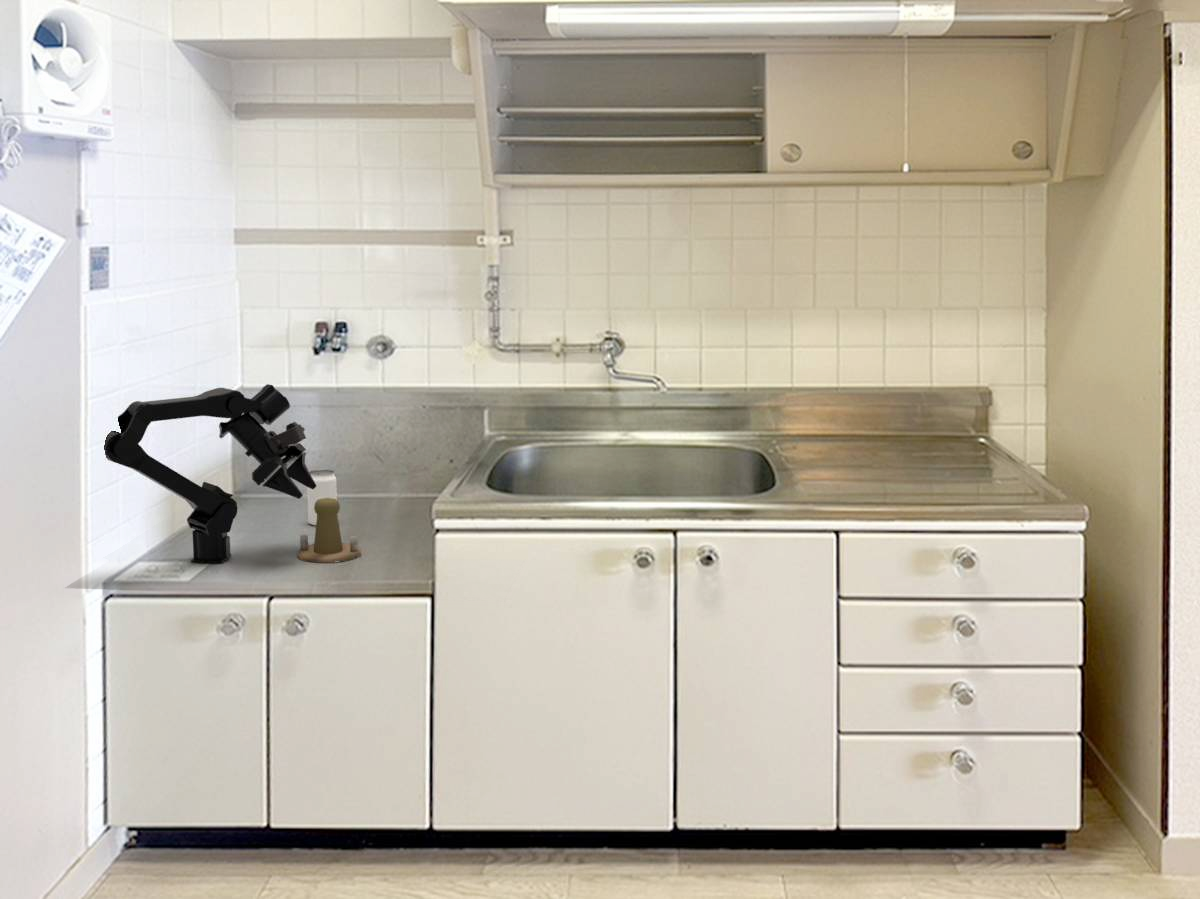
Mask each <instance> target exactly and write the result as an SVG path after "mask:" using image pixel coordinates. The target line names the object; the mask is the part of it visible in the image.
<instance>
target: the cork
mask: <svg viewBox="0 0 1200 899" xmlns="http://www.w3.org/2000/svg"><path fill="white" fill-rule="evenodd" d="M340 506H341V505H340V502H339V500H338V499H337V500H336V499H333V498H322V499H319V500H317V501H316V503H315V505H314V510H315V512H316V514H317V523H316V526H315V531H314V532H315V533H314V543H313V544H314V552H315V553H319V554H334V553H339V552H341V551H343V547H342V543H343V541H342V536H341V529H340V524H339V518H338V517H339V516H338V513H339V512H340V510H341V507H340Z"/></svg>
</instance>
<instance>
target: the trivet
mask: <svg viewBox="0 0 1200 899" xmlns="http://www.w3.org/2000/svg"><path fill="white" fill-rule="evenodd" d="M299 545H300V546H299V547H300V548H299V549H298V550H297V554H296V555H297V559H299V558H300V560H301V559H302V560H301V561H303V560H305V561H304V562H307V561H311V562H310V563H314V562H335V561H343V562H345V561H344V560H349V559H352V560H354V559H353V558H355V559H357V558H359V557H360V556H361V554H362V549H361V547H360V546H359V538H358V536H357V535H353V536H350V537H349V543H348V542H347V543H346V542H342V547H343V551H341V552H339V553H334V554H319V553H315V552H314V543H313V544H309V535H308V534H300V535H299ZM359 555H360V556H359ZM358 556H359V557H358ZM356 557H357V558H356ZM349 561H350V560H349ZM335 563H336V562H335Z"/></svg>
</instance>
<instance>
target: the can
mask: <svg viewBox="0 0 1200 899" xmlns="http://www.w3.org/2000/svg"><path fill="white" fill-rule="evenodd" d="M334 472H335V471H334V470H332V469H314V470H310V471H309V473H310V475H311V476H312V478H313V480H314V482H315V484H316V487H315V488H314V489H311V488H309V487H307V486H306V487H307V489H306V490H307V513H308V514H307V518H308V524H309V525H310V524H311V525H310V526H312V525H314V526H313V527H316V523H317V514H316V512H315V510H314V505H315V503H316V501H317V500H319V499H322V498H333V499H336V500H338V499H337V497H338V495H337V492H338V490H337V478H336V475H335V474H334Z"/></svg>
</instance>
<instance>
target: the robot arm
mask: <svg viewBox="0 0 1200 899" xmlns="http://www.w3.org/2000/svg"><path fill="white" fill-rule="evenodd" d="M290 408H291V404H290V402H289V399H287V397H286V396H284V395H283V394H282V393H281V391H279V390H277V389H276V388H275V386H274V385H273V384H268V383H267V384H265V385H264V386H263V387H262V389H261V390H259V392H257V393H256V394H255V395H254V396H252V398H248V397H245V395H244V394H243V393H242V392H241V391H239V390H234V389H231V388H226V387H216V388H213V389H210V390H207V391H204V392H202V393H200V394H197V395H194V396H188V397H187V396H186V397H185V396H184V397H176V398H168V399H158V400H157V399H156V400H148V401H140V400H137V401H133V402H132V403H130V404H129V405H128V406H127V408H126V409H125V410H124V411H123V412H122V413H121V414H119V415H118V416H117V417H118V422H119V426H120V429H121V433H119V432H116V431H111V432H110V433H109V434H108V435H107V437H106V440H105V445H104V450H105V455H106V458H107V459H108V460H107V461H110V462H112V463H114V464H117V463H118V465H121V466H124V467H127V468H129V469H132V470H133V471H136V472H137V473H139V474H140V475H142V476H143V477H146V478H147V479H149V480H151V481H152V482H153V483H155V484H158V485H159V486H160V487H162V488H164V489H166V490H168V491H169V492H171V493H173V494H175V495H176V496H178V497H179V498H182V499H183V500H184V501H186V502H187V503H188V505H189V506H190V507H191V508H192V509H193V511H192V512H191V513H190V514H189V516H188V517H187V519H186V522H187V524H188V527H189V529H193V531H192V533H191V534H192V550H193V551H192V554H193V556H192V558H191V559H190V563H201V564H202V563H203V564H206V563H207V564H222V563H223V562H225V561H226V560H227V559H229V558H230V557H231V556H232V553H231V537H230V536H229V535H228V533H230V532H231V530H232V526H233V523H234V522H233V521H234V520H235V518H236V517H237V514H238V503H237V501H236V500H235V499H234V498H232V497H233V496H234V494H232V493H229V492H226V491H224V490H223V489H222V488H221V487H219V485H215V484H212V483H210V482H206V481H203V482H202V485H201V486H200V485H199V484H197V483H196V482H194V481H192V480H190V479H189V478H187V477H185V476H184V475H183V474H180V473H179V472H177V471H175V470H174V469H172V468H170V467H169V466H167V465H166V464H164V463H162V462H160V461H159V460H157V459H156V458H153V457H152V456H151V455H149V454H148V453H147V452H146V451H145V450H144V449H143V447H142V446H141V445H140V442H141V441H142V440H143V437H144V436H145V434H146V431H147V429H148V427H149V425H150V424H151V423H152V422H161V421H169V420H178V419H185V418H186V419H187V418H193V417H213V418H219V419H229V420H228V421H225V422H223V421H221V422H219V425H218V428H219V436H218V437H219V438H220V439H223V438H224V437H225V436H226V435H228V434H230V435H231V436H232V437H233V439H235V440H236V441H237V442H238V443H239V444H240V445H241V446H242V447H243V448H244V449H245V450H246V452H244V454H245V455H246V456H247V457H251V456H252V457H253V458H254V460H256V461H257V462H258V463H259V465H258V466H257V467H256V468H255V469H254V470H253V471H252V472H251V478H252V479H251V480H253V481H254V483H255V484H256V485H257V486H258V487H259V486H261V485H262V486H263V488H269V489H272V490H275V491H278V492H280V493H283V494H286V495H288V496H291V497H293V498H295V499H296V498H297V499H301V498H302V497H303V492H302V491H301V490H300V489H299V488H298V486H297V484H296V483H294V481H296V482H298V483H299V484H301V485H304V487H309V488H311V489H314V488H315V487H316V484H315V482H314V480H313V478H312V476H311V475H310V473H309V472H310V471H309V469H308V468H307V465H306V463H305V462H306V455H307V453H306V450H307V449H306V447H305V446H303V445H302V444H301V443H300V442H302V441H303V440H305V439H307V436H306V435H305V433H304V432H305V427H304V426H302V424H298V423H297V421H293V422H291V423H289V424H287V425H286V426H285V430H284V431H282V432H280V433H278V434H277V433H276V432H275V431H274V430H270V431H268V430H267V429H266V428H265V427H264V426H263V425H264V424H265V425H268V426H270V425H272V424H273V423H274V422H275V421H277V419H279V418H280V417H281V416H283V414H284V413H286V411H288V410H289V409H290ZM293 480H294V481H293Z"/></svg>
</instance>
